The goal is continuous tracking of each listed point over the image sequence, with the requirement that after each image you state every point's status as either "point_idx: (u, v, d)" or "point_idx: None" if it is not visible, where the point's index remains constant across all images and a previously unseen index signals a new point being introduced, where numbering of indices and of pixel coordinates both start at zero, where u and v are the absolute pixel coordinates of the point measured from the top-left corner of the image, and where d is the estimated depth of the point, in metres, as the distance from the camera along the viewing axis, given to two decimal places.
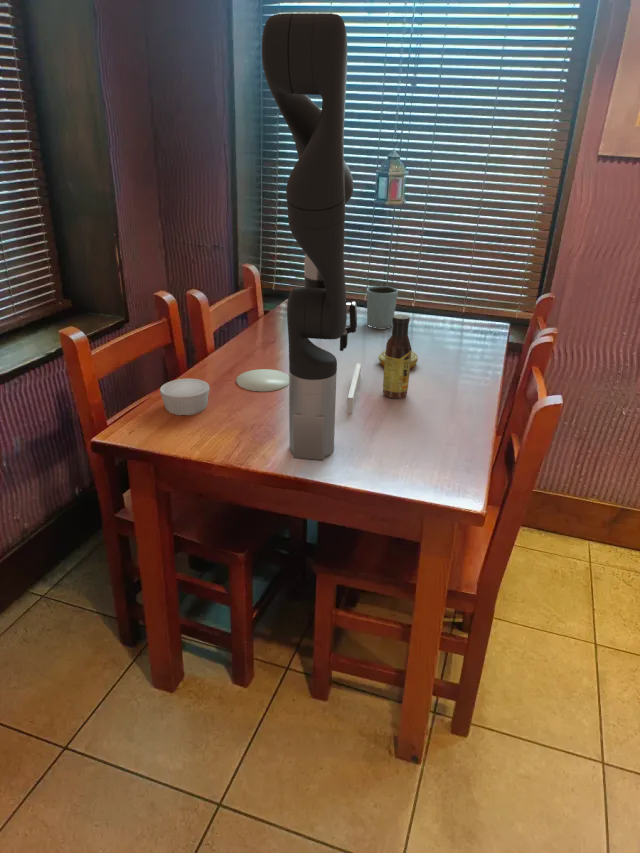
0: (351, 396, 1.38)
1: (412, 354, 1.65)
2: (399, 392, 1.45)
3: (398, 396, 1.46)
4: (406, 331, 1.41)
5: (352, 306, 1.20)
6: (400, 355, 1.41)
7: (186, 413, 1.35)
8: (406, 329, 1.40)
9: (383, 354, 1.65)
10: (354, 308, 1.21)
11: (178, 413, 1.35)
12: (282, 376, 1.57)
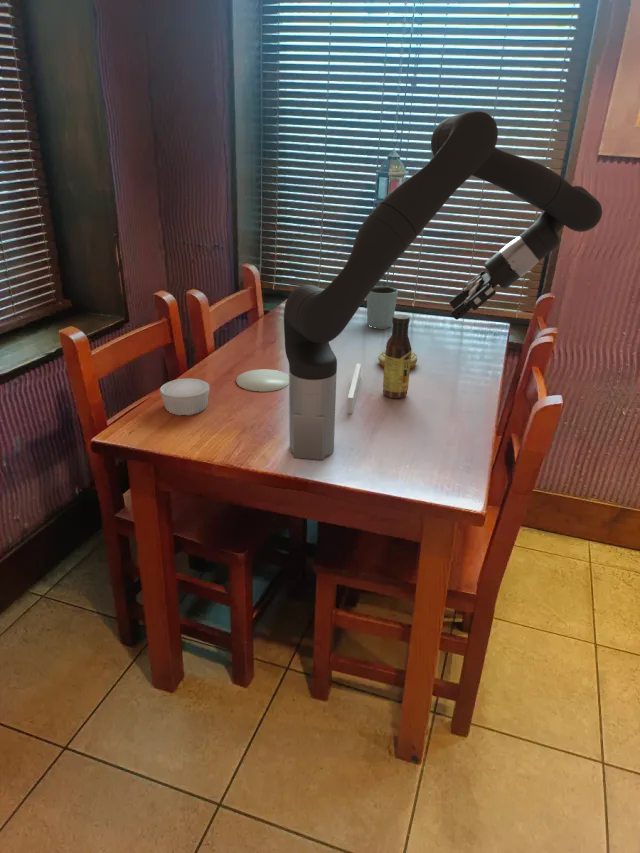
0: (351, 396, 1.38)
1: (412, 354, 1.65)
2: (399, 392, 1.45)
3: (398, 396, 1.46)
4: (406, 331, 1.41)
5: (488, 284, 1.28)
6: (400, 355, 1.41)
7: (186, 413, 1.35)
8: (406, 329, 1.40)
9: (383, 354, 1.65)
10: (486, 286, 1.27)
11: (178, 413, 1.35)
12: (282, 376, 1.57)
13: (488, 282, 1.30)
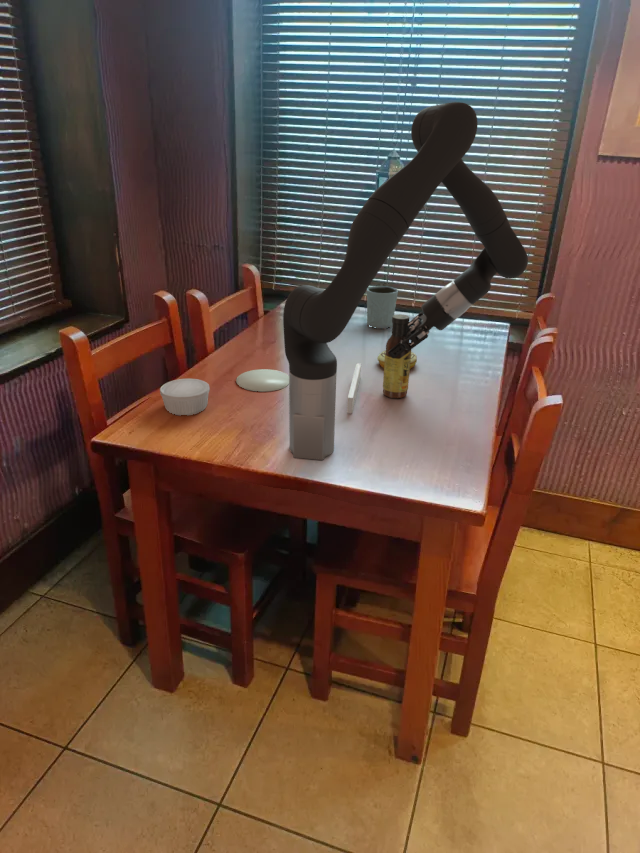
0: (351, 396, 1.38)
1: (411, 355, 1.64)
2: (399, 392, 1.45)
3: (398, 396, 1.46)
4: (406, 331, 1.41)
5: (420, 328, 1.34)
6: (400, 355, 1.41)
7: (186, 413, 1.35)
8: (406, 329, 1.40)
9: (382, 355, 1.65)
10: (419, 330, 1.34)
11: (178, 413, 1.35)
12: (282, 376, 1.57)
13: (423, 324, 1.36)
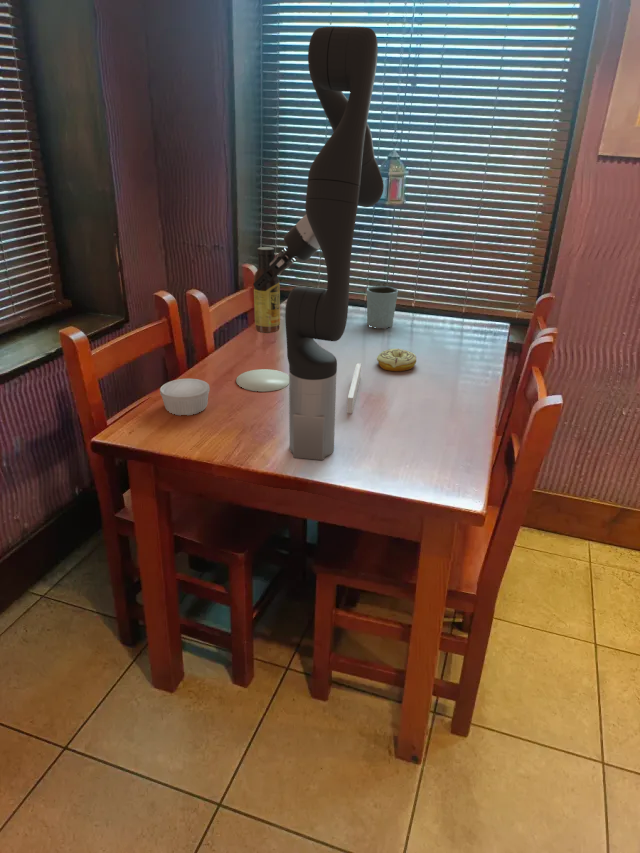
0: (351, 396, 1.38)
1: (411, 355, 1.64)
2: (269, 326, 1.45)
3: (268, 331, 1.45)
4: None
5: (278, 256, 1.33)
6: (266, 287, 1.41)
7: (186, 413, 1.35)
8: (271, 261, 1.40)
9: (381, 355, 1.65)
10: (277, 259, 1.33)
11: (178, 413, 1.35)
12: (282, 376, 1.57)
13: (284, 254, 1.35)
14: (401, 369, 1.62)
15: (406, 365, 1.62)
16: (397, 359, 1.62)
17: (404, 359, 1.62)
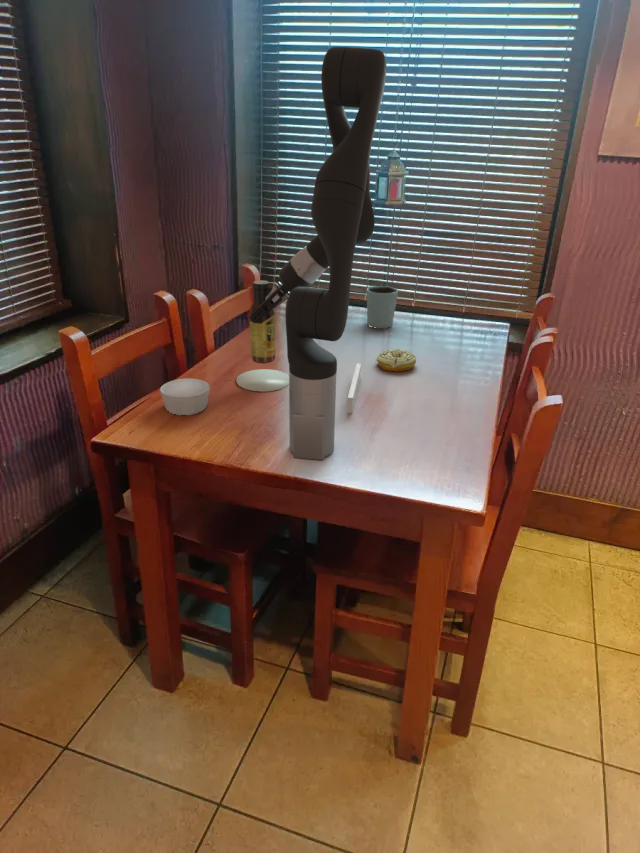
0: (351, 396, 1.38)
1: (410, 355, 1.64)
2: (265, 357, 1.49)
3: (264, 361, 1.49)
4: None
5: (274, 292, 1.37)
6: (261, 320, 1.44)
7: (186, 413, 1.35)
8: (266, 294, 1.43)
9: (381, 355, 1.64)
10: (272, 294, 1.37)
11: (178, 413, 1.35)
12: (282, 376, 1.57)
13: (279, 289, 1.39)
14: (401, 369, 1.62)
15: (406, 365, 1.61)
16: (397, 359, 1.61)
17: (404, 359, 1.62)
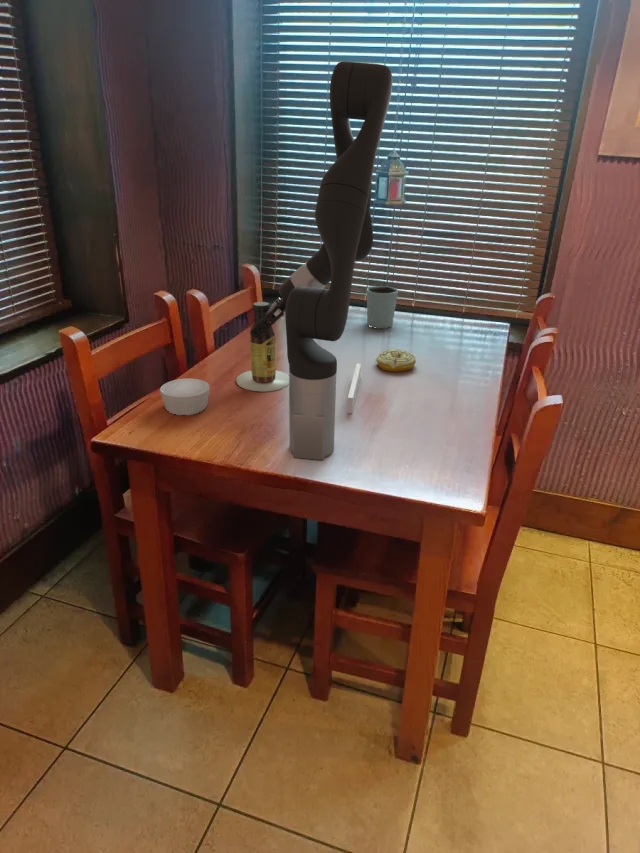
0: (351, 396, 1.38)
1: (410, 356, 1.64)
2: (265, 377, 1.51)
3: (264, 381, 1.51)
4: None
5: (276, 306, 1.39)
6: (261, 341, 1.47)
7: (186, 413, 1.35)
8: None
9: (381, 356, 1.64)
10: (274, 308, 1.39)
11: (178, 413, 1.35)
12: (282, 376, 1.57)
13: (279, 304, 1.41)
14: (401, 369, 1.62)
15: (405, 366, 1.61)
16: (396, 360, 1.61)
17: (403, 360, 1.62)
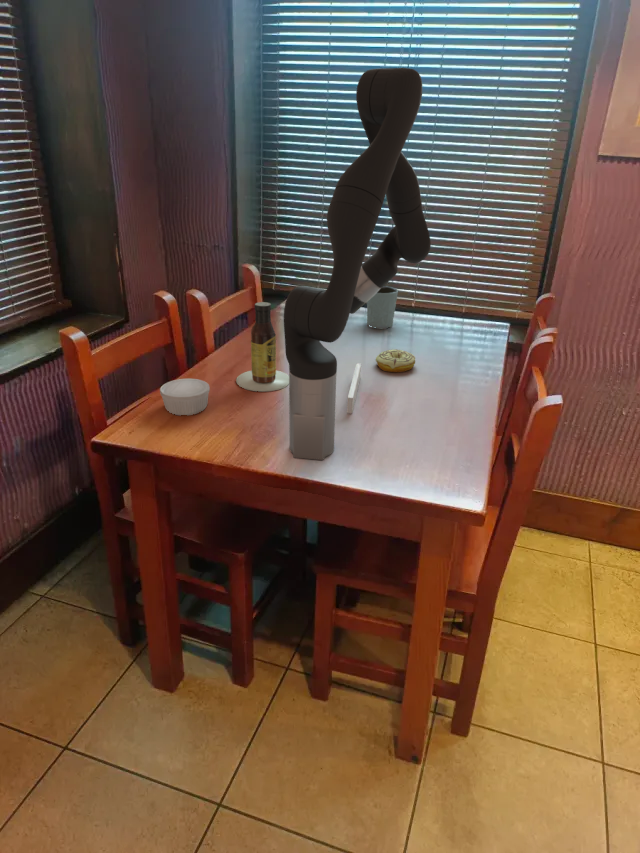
0: (351, 396, 1.38)
1: (410, 356, 1.64)
2: (265, 377, 1.51)
3: (265, 381, 1.51)
4: (268, 318, 1.46)
5: None
6: (262, 341, 1.47)
7: (186, 413, 1.35)
8: (267, 316, 1.46)
9: (380, 356, 1.64)
10: None
11: (178, 413, 1.35)
12: (282, 376, 1.57)
13: None
14: (400, 370, 1.61)
15: (405, 366, 1.61)
16: (396, 360, 1.61)
17: (403, 360, 1.61)
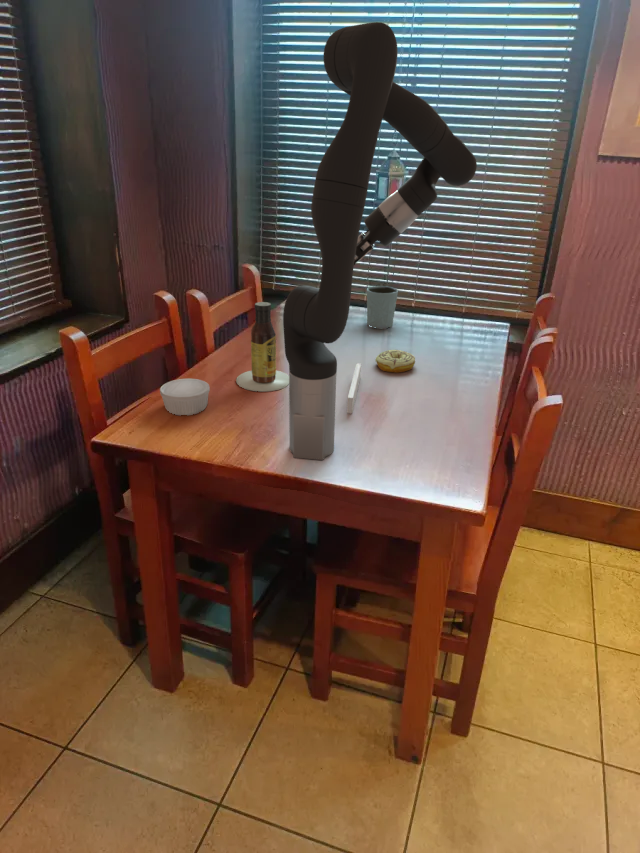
0: (351, 396, 1.38)
1: (409, 356, 1.63)
2: (265, 377, 1.51)
3: (265, 381, 1.51)
4: (268, 318, 1.46)
5: (363, 238, 1.24)
6: (262, 341, 1.47)
7: (186, 413, 1.35)
8: (267, 316, 1.46)
9: (380, 356, 1.64)
10: (362, 241, 1.24)
11: (178, 413, 1.35)
12: (282, 376, 1.57)
13: (366, 237, 1.26)
14: (400, 370, 1.61)
15: (405, 366, 1.61)
16: (396, 360, 1.61)
17: (403, 360, 1.61)
